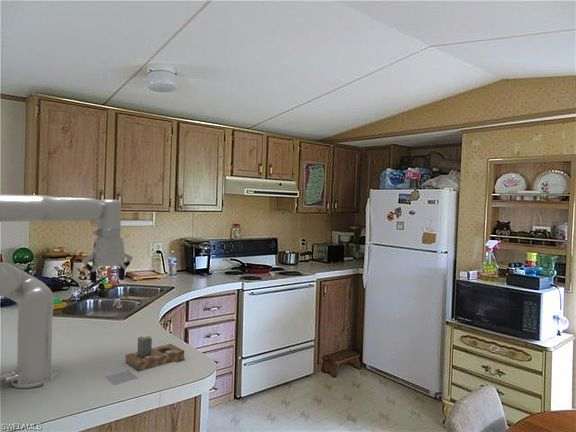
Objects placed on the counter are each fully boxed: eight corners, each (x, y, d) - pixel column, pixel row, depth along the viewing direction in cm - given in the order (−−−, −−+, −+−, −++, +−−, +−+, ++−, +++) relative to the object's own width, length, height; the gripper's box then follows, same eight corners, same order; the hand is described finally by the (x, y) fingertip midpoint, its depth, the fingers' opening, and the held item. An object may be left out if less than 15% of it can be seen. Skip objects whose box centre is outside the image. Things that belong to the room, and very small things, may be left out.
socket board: (137, 373, 138) (138, 361, 138) (125, 364, 145) (125, 353, 145) (184, 359, 151) (184, 349, 151) (170, 352, 158) (170, 342, 158)
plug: (141, 368, 143) (142, 338, 142) (137, 365, 145) (138, 335, 145) (151, 365, 145) (151, 335, 145) (146, 362, 148) (147, 333, 147)
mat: (114, 386, 128) (114, 385, 128) (104, 378, 133) (104, 376, 133) (138, 379, 133) (138, 377, 133) (128, 372, 139) (128, 370, 139)
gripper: (87, 235, 135) (85, 285, 136) (137, 234, 147) (135, 280, 148) (79, 233, 140) (78, 282, 141) (128, 232, 153) (127, 277, 153)
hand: (107, 281), depth 144 cm, fingers open, 9 cm apart
